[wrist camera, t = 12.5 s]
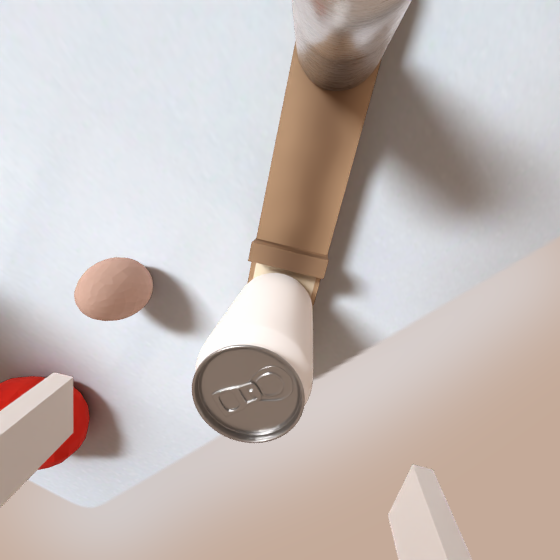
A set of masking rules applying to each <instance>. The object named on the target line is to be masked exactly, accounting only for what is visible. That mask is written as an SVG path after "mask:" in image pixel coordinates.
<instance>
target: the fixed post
mask: <svg viewBox="0 0 560 560" xmlns="http://www.w3.org/2000/svg"><path fill="white" fill-rule="evenodd" d="M411 1H412V0H292V9H293V19H294V29H295V39H296V49H297V55H298V60H299V63H300V65H301V68H302V70H303V71H304V73H305V75H306V76H307V77H308V78H309V79H310V80H311V81H312V82H313V83H314V84H316V85H317V86H319V87H321V88H323V89H326V90H330V91H344V90H348V89H351V88H354V87H356V86H358V85H359V84H361V83H362V82H363V81H365V80H366V79H367V78H368V77H369V76H370V75H371V74H372V73H373V71H374V70H375V69H376V67H377V65H378V64H379V62H380V60H381V58H382V56H383V54H384V52H385V50H386V48H387V47H388V45H389V43H390V41H391V39H392V37H393V35H394V33H395V31H396V29H397V27H398V26H399V24H400V22H401V20H402V18H403V16H404V14H405V12H406V10H407V8H408V6H409V5H410V3H411Z"/></svg>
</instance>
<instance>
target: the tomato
mask: <svg viewBox="0 0 560 560" xmlns="http://www.w3.org/2000/svg"><path fill="white" fill-rule="evenodd" d="M44 379H45V378H44V377H35V376H30V377H18V378H11V379H9V380H6V381H4V382H2V383H0V411H1V410H2V409H4V408H5V407H6V406H8V405H9V404H11V403H12V402H13V401H15V400H16V399H17V398H19V397H20V396H22V395H23V394H24V393H26V392H27V391H29V390H30V389H31V388H33V387H34V386H36V385H37V384H38V383H40V382H41V381H43V380H44ZM89 419H90V417H89V410H88V405H87V403H86V401H85V400H84V398H83V396H82V394H81V393H80V392H79V391H78V390H77V389H75V388H74V387H73V433H72V434H71V435H70V436H69V438H68V439H67V440H66V441H65V442H64V443H63V444H62V445H61V446H60V447H59V448H58V449H57V450H56V451H55V452H54V453H53V454H52V455H51V456H50V457H49V458H48V459H47V460H46V461H45V462H44V463H43V464H42V465H41V466H40V467H39V468H38V470H40V469H45V468H49V467H52V466H54V465H57V464H59V463H62V462H63V461H64V460H65V459H67V458H68V457H69V456H70V455H72V454H73V453H74V452H75V451H76V450H77V449H78V448H79V447H80V446H81V444H82V443H83V441H84V440H85V438H86V434H87V429H88V424H89Z"/></svg>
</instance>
